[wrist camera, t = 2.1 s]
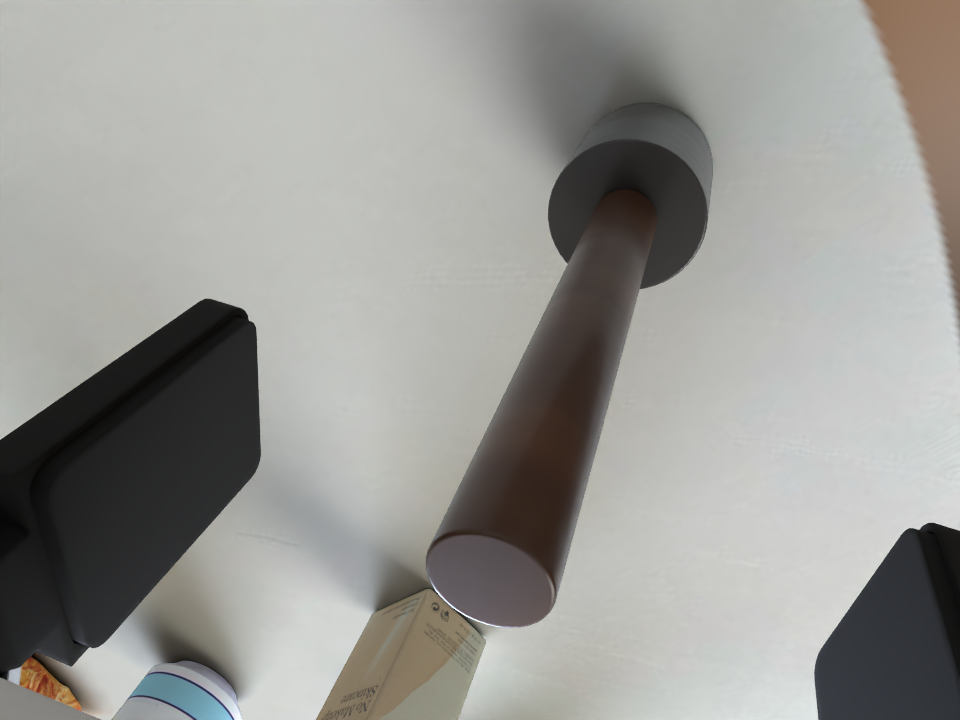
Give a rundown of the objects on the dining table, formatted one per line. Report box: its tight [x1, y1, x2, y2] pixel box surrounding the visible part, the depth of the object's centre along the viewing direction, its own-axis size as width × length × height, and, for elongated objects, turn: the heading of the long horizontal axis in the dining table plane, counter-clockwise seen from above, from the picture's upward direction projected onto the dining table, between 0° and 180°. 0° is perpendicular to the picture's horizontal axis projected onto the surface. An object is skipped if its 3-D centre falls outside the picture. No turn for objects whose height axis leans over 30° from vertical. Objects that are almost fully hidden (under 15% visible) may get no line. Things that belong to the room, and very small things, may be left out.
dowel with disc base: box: [426, 103, 713, 628], centre depth 15 cm, size 4×4×16 cm
